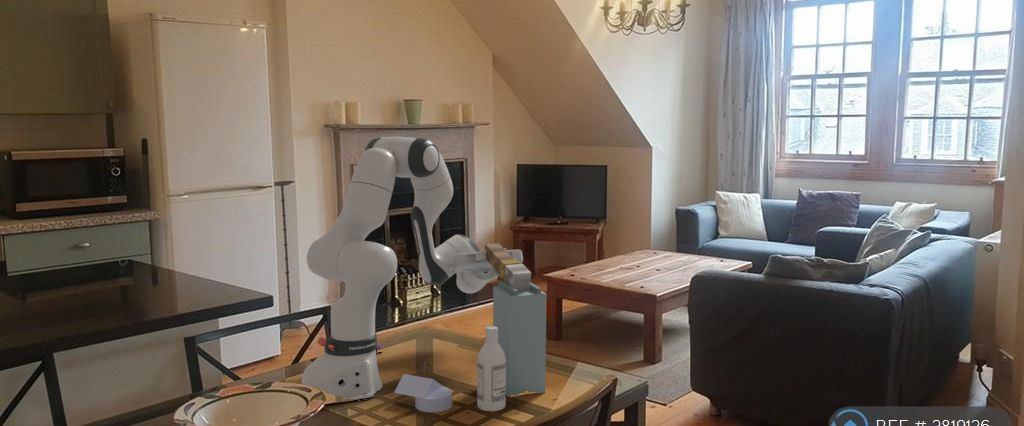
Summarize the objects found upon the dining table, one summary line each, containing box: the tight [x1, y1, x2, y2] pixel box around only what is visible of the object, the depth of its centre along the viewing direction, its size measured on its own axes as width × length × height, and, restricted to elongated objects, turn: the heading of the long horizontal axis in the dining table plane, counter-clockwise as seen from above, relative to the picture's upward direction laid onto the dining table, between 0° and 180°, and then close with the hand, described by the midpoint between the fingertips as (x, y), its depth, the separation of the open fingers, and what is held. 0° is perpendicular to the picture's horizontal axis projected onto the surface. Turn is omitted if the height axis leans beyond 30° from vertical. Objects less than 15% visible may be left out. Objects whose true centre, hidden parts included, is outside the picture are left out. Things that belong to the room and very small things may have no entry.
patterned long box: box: [484, 242, 532, 291], centre depth 210 cm, size 24×5×5 cm, turn 21°
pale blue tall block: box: [492, 279, 547, 397], centre depth 203 cm, size 12×10×27 cm
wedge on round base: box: [393, 373, 453, 413], centre depth 193 cm, size 9×7×13 cm
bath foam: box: [476, 325, 507, 413], centre depth 190 cm, size 7×7×20 cm
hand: (495, 251), depth 218 cm, fingers closed on patterned long box, 4 cm apart
